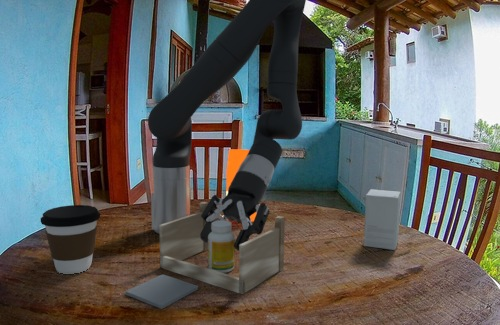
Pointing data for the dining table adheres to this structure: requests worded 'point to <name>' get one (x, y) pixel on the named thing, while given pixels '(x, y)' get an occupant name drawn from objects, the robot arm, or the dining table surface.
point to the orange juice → (235, 167)
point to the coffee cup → (71, 236)
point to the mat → (161, 291)
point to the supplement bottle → (221, 247)
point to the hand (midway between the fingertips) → (219, 244)
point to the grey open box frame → (189, 243)
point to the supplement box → (382, 219)
